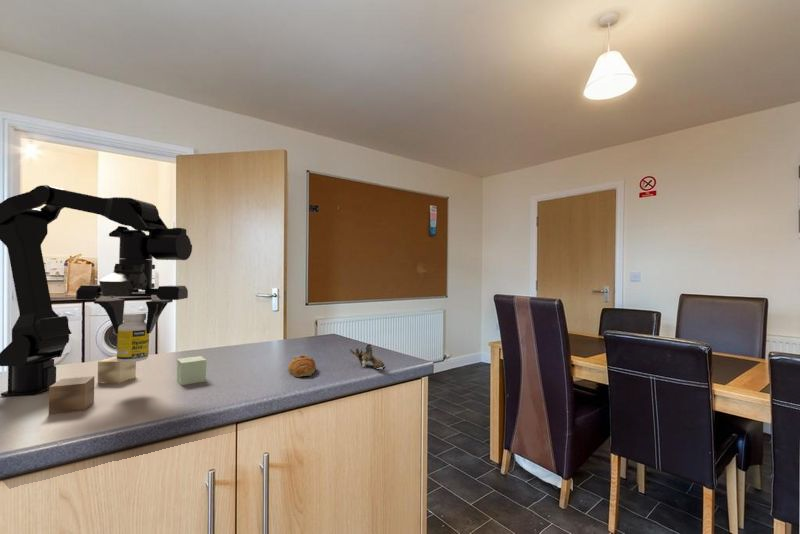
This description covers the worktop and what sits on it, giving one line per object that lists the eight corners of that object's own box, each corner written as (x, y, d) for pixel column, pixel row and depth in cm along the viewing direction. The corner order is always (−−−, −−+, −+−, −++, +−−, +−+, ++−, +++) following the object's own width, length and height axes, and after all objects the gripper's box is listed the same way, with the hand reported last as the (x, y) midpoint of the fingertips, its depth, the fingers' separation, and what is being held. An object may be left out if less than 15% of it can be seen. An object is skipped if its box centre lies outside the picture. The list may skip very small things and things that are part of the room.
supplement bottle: (131, 363, 74) (133, 315, 74) (109, 362, 75) (111, 314, 75) (154, 357, 79) (156, 312, 79) (134, 356, 80) (135, 311, 80)
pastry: (318, 377, 89) (318, 361, 89) (290, 380, 87) (290, 364, 87) (313, 368, 98) (313, 353, 98) (287, 370, 95) (287, 355, 95)
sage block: (181, 385, 82) (181, 363, 82) (177, 380, 85) (177, 358, 85) (205, 381, 85) (206, 359, 85) (200, 376, 89) (201, 355, 89)
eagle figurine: (344, 363, 98) (367, 362, 92) (352, 338, 102) (375, 336, 96) (363, 374, 102) (386, 374, 96) (371, 350, 106) (393, 348, 100)
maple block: (97, 383, 82) (97, 361, 83) (114, 377, 87) (115, 356, 88) (119, 383, 82) (120, 361, 83) (135, 377, 87) (136, 356, 88)
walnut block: (48, 415, 64) (49, 386, 64) (60, 405, 69) (61, 379, 69) (84, 411, 66) (85, 383, 66) (93, 402, 71) (94, 376, 71)
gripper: (56, 256, 67) (53, 341, 67) (167, 259, 71) (165, 340, 71) (95, 258, 78) (93, 331, 78) (189, 260, 82) (187, 330, 82)
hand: (133, 333), depth 77 cm, fingers closed on supplement bottle, 5 cm apart
